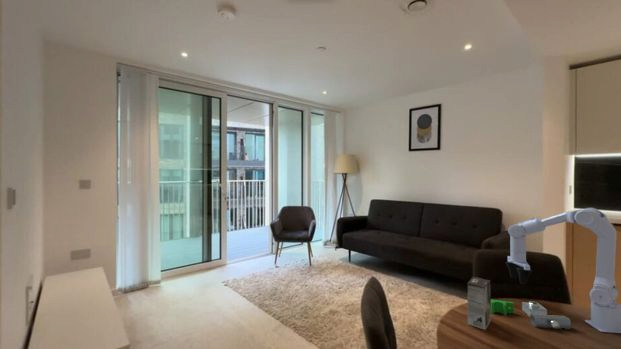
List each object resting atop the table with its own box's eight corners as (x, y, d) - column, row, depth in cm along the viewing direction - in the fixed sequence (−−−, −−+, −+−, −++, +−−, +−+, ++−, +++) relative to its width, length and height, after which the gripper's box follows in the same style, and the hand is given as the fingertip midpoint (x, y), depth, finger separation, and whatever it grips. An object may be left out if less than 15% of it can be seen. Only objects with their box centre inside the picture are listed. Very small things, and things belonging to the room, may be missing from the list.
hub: (538, 311, 122) (537, 300, 122) (546, 318, 116) (546, 306, 116) (522, 310, 123) (522, 299, 123) (530, 317, 117) (529, 305, 117)
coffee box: (473, 315, 119) (472, 276, 119) (491, 321, 114) (491, 279, 114) (467, 324, 112) (466, 282, 112) (486, 330, 108) (485, 286, 108)
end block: (565, 325, 110) (565, 315, 110) (574, 331, 106) (574, 322, 106) (530, 323, 112) (530, 314, 112) (537, 329, 108) (537, 320, 108)
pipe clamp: (483, 312, 122) (483, 301, 122) (482, 308, 125) (481, 298, 125) (515, 317, 117) (515, 305, 117) (513, 312, 121) (512, 301, 121)
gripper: (500, 246, 139) (500, 275, 139) (517, 255, 124) (517, 286, 124) (516, 246, 138) (517, 275, 138) (535, 255, 123) (535, 287, 123)
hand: (518, 281), depth 131 cm, fingers open, 7 cm apart
